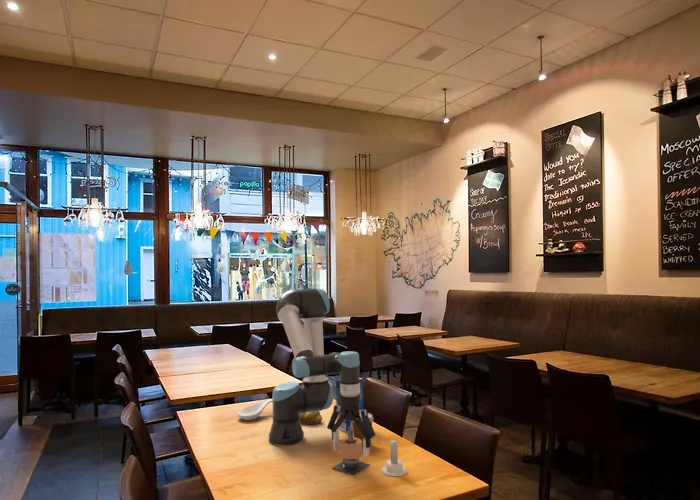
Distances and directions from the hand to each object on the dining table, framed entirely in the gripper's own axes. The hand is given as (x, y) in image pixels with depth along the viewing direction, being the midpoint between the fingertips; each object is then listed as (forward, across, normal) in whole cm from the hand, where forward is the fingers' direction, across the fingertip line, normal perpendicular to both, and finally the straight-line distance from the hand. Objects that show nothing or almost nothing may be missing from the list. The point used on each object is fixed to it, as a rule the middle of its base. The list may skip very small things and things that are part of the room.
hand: (351, 452), depth 173 cm
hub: (+6, +15, +6) cm, 17 cm away
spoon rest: (+5, -75, +25) cm, 79 cm away
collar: (+1, 0, 0) cm, 1 cm away
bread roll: (+5, -47, +31) cm, 57 cm away
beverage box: (+5, -26, +36) cm, 45 cm away
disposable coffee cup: (+5, -9, +21) cm, 24 cm away
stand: (+5, 0, 0) cm, 5 cm away
